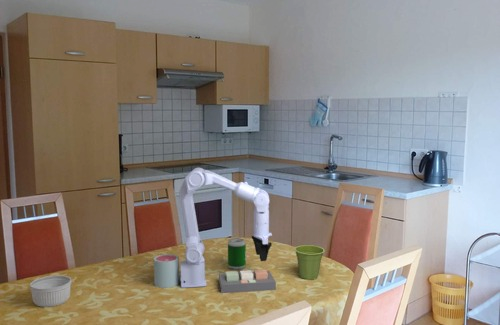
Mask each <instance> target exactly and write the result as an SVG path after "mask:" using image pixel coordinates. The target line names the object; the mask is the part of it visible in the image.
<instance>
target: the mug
mask: <svg viewBox="0 0 500 325" xmlns="http://www.w3.org/2000/svg"><path fill="white" fill-rule="evenodd" d="M179 259H180V257H179V256H178V255H176V254H171V253H169V254H168V253H167V254H166V253H165V254H160V255H156V256H155V257H154V258H153V269H154V270H153V272H154V274H153V275H154V276H153V278H154V280H153V282H154V287H156V288H161V289H169V288H173V287H177V286H178V285H179V284H180V265H179V264H180V262H179Z"/></svg>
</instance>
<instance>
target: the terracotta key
mask: <svg viewBox="0 0 500 325" xmlns="http://www.w3.org/2000/svg"><path fill="white" fill-rule="evenodd" d="M267 271H268V270H266V269H254V270H253V272H254V277H255V280H257V279H268V273H267Z"/></svg>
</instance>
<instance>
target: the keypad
mask: <svg viewBox="0 0 500 325" xmlns="http://www.w3.org/2000/svg"><path fill="white" fill-rule="evenodd" d="M266 271H267V273H268V279H257V280H255V277H254V271H252V273H253V280H241V279H240V271H239V272H238V271H237V272H238V275H239V281H226V272H224V273H223V272H221V273H218V284H219V287H220V291H221V292H220V293H221V294H230V293H245V292H246V293H248V292H260V291H263V292H264V291H276V290H277V281H276V280H275V278H274V276H273V275H272V273H271V271H270V270H266Z"/></svg>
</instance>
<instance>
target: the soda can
mask: <svg viewBox="0 0 500 325" xmlns="http://www.w3.org/2000/svg"><path fill="white" fill-rule="evenodd" d="M246 265H247V242H246V240H244V239H243V238H241V237H233V238H230V239H229V240H228V241H227V266H228V267H229V269H230V270H231V271H242V270H243V269H244V268H246Z"/></svg>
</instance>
